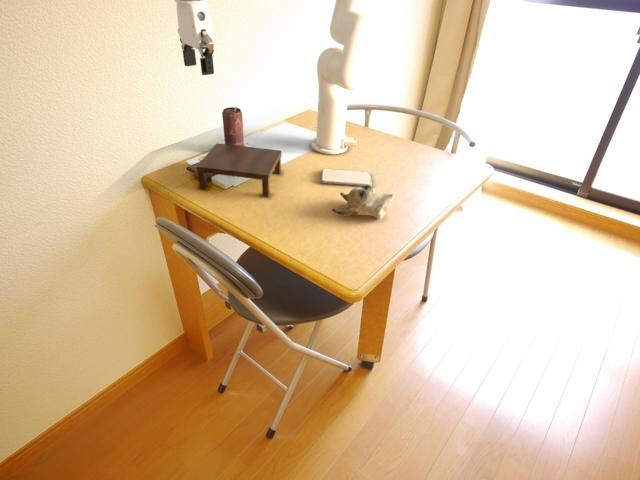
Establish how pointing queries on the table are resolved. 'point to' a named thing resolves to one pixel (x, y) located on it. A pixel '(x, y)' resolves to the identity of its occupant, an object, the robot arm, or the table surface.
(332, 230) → the table surface
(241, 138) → the can
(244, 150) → the side table
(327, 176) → the smartphone
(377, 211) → the ceramic sculpture
